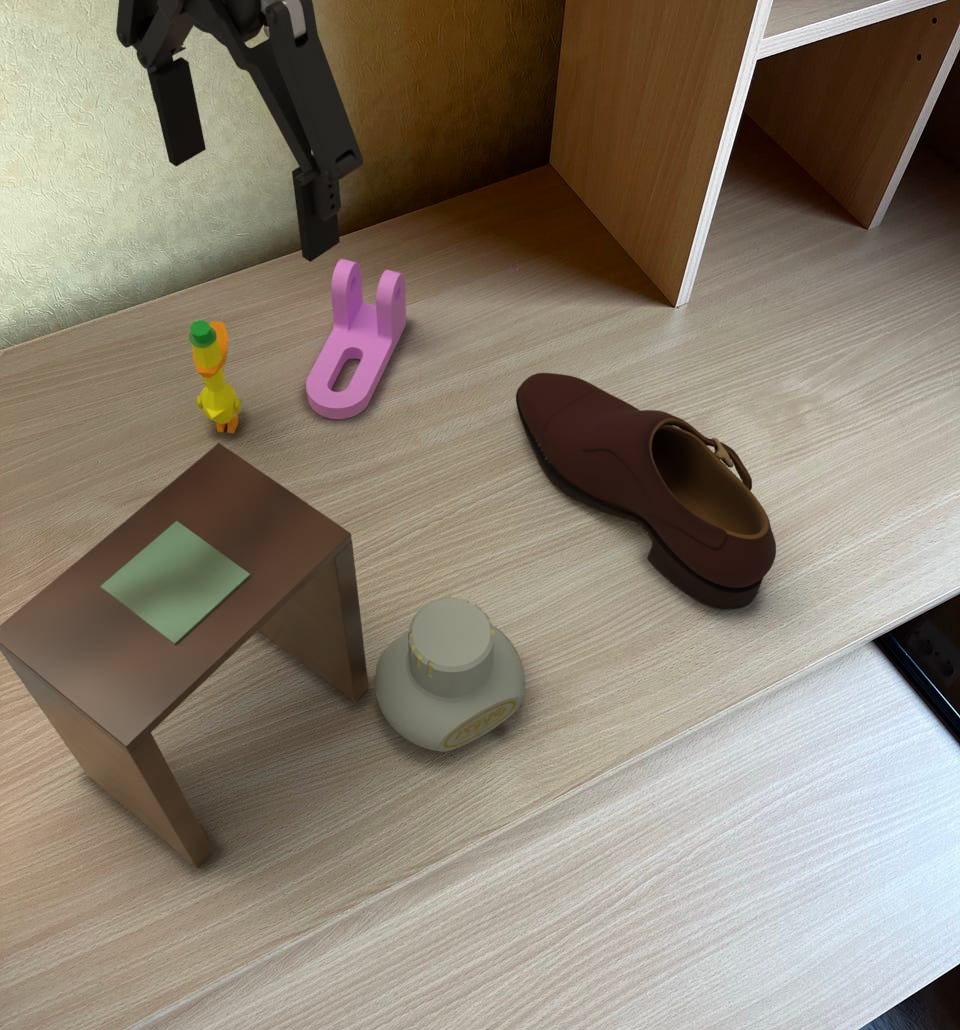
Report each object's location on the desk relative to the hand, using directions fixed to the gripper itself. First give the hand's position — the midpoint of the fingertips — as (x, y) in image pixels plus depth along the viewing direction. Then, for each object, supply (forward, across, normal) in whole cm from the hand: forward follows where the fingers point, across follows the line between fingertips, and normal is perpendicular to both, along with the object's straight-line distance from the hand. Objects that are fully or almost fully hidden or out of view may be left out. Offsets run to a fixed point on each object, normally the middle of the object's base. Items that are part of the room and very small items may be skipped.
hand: (252, 201), depth 75 cm
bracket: (+23, +1, -9) cm, 25 cm away
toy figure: (+23, +4, +3) cm, 24 cm away
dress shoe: (+23, -26, -14) cm, 38 cm away
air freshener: (+23, -28, +10) cm, 38 cm away
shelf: (+23, -18, +23) cm, 37 cm away
